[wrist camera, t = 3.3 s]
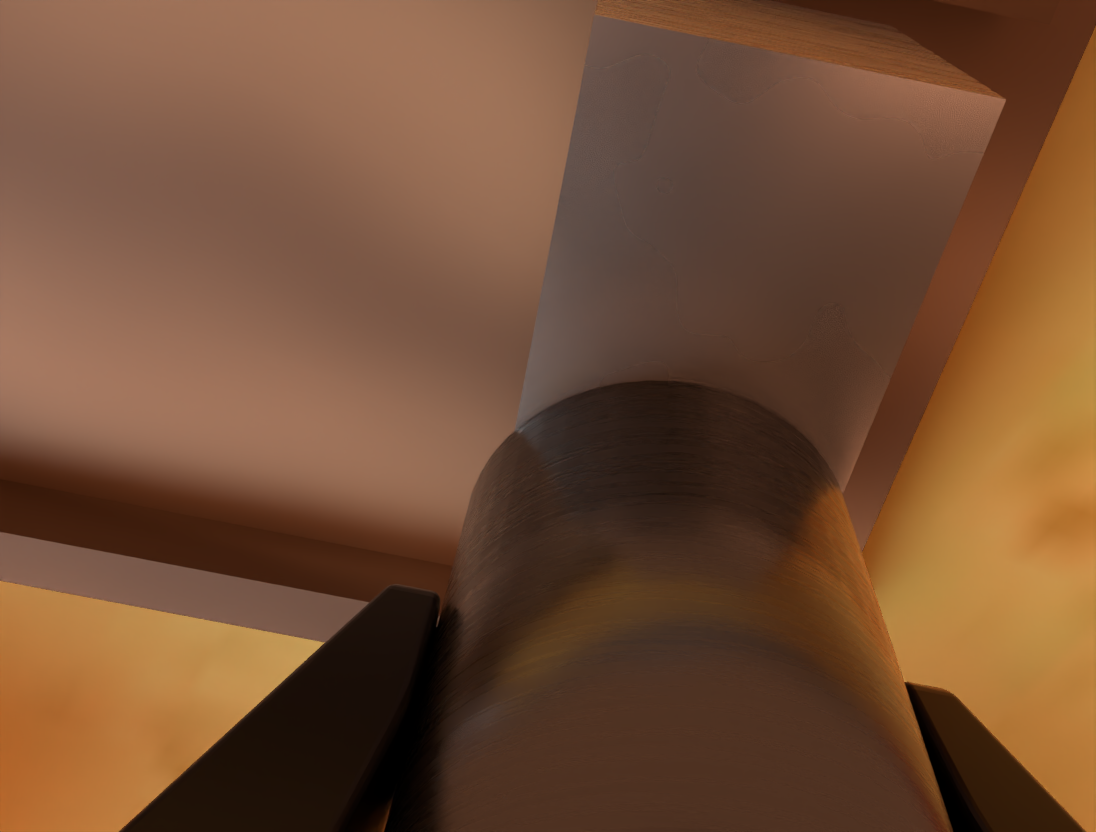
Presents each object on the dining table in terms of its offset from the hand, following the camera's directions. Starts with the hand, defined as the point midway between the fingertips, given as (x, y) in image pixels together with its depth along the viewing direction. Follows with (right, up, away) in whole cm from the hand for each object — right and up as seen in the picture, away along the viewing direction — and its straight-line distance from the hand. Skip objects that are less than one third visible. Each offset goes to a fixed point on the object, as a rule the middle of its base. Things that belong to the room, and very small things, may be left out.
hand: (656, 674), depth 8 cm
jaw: (0, +3, +4) cm, 5 cm away
